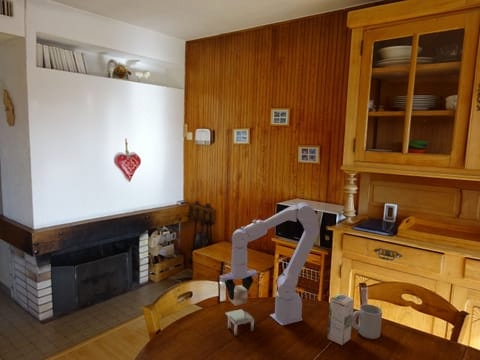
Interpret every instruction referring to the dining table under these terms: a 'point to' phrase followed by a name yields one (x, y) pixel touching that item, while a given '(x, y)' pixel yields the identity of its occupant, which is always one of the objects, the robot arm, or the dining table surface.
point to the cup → (368, 321)
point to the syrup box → (340, 319)
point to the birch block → (239, 295)
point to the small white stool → (241, 322)
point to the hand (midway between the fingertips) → (238, 297)
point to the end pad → (237, 315)
